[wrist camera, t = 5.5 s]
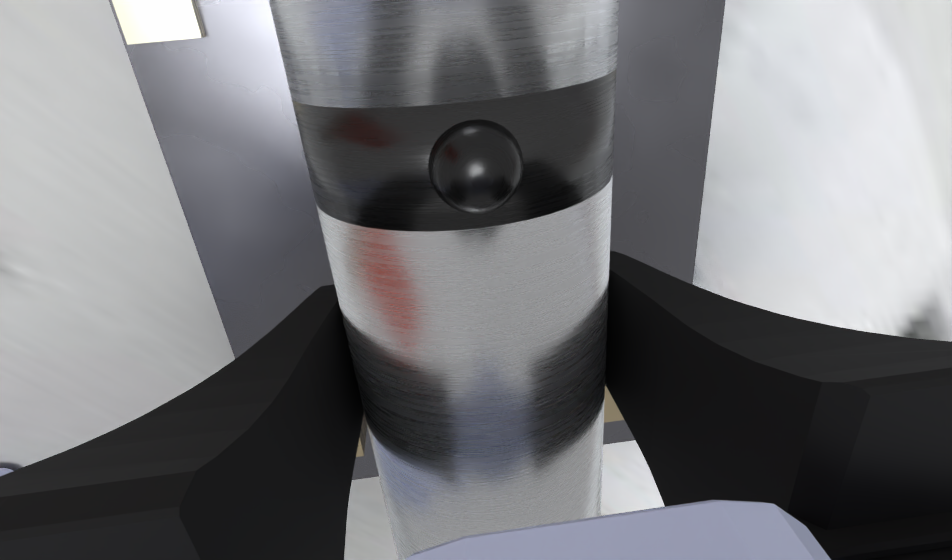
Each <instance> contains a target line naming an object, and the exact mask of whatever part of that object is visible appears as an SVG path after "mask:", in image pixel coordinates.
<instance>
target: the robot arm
mask: <svg viewBox="0 0 952 560" xmlns="http://www.w3.org/2000/svg"><path fill="white" fill-rule="evenodd" d="M605 385H606V387H607V389H608V390H609V392H610V394H611V396H612V398H613V400H614V402H615V403H616V405H617V407H618V409H619V411H620V413H621V414H622V416H623V418H624V420H625V422H626V424H627V425H628V427H629V429H630V431H631V433H632V435H633V436H634V438H635V440H636V442H637V444H638V446H639V447H640V449H641V451H642V453H643V455H644V457H645V460H646V462H647V464H648V466H649V468H650V470H651V473H652V475H653V478H654V480H655V483H656V485H657V487H658V490H659V492H660V495H661V497H662V500H663V502H664V505H665V507H660V508H653V509H646V510H639V511H633V512H626V513H619V514H612V515H605V516H598V517H592V518H585V519H578V520H571V521H564V522H557V523H551V524H544V525H537V526H530V527H523V528H516V529H510V530H503V531H496V532H489V533H482V534H475V535H469V536H464V537H461V538H458V539H455V540H452V541H449V542H446V543H443V544H440V545H437V546H434V547H431V548H428V549H425V550H422V551H419V552H416V553H413V554H412V555H411V556H409V557H408V558H406V559H405V560H952V342H948V341H937V340H925V339H914V338H906V337H899V336H891V335H884V334H877V333H870V332H863V331H857V330H852V329H846V328H840V327H835V326H830V325H825V324H820V323H816V322H811V321H806V320H802V319H797V318H793V317H789V316H785V315H781V314H777V313H773V312H770V311H767V310H763V309H760V308H757V307H753V306H750V305H746V304H743V303H740V302H737V301H734V300H731V299H728V298H725V297H723V296H720V295H717V294H715V293H712V292H710V291H707V290H704V289H702V288H699V287H697V286H694V285H692V284H690V283H687V282H685V281H683V280H680V279H678V278H676V277H673V276H671V275H669V274H667V273H664V272H662V271H660V270H658V269H656V268H654V267H651V266H649V265H647V264H645V263H643V262H640V261H638V260H636V259H634V258H631V257H629V256H627V255H624V254H622V253H619V252H615V251H610V261H609V289H608V316H607V344H606V372H605ZM363 415H364V409H363V405H362V400H361V396H360V392H359V387H358V383H357V379H356V374H355V370H354V366H353V361H352V357H351V353H350V348H349V344H348V340H347V336H346V331H345V327H344V323H343V318H342V314H341V310H340V305H339V301H338V297H337V292H336V288H335V284H334V285H325V286H321V287H319V288H318V289H317V290H315V291H314V292H313V293H312V294H311V295H310V296H309V297H307V298H306V299H305V300H304V301H303V302H302V303H301V304H300V305H299V306H298V307H297V308H295V309H294V310H293V311H292V312H291V313H290V314H289V315H288V316H287V317H286V318H284V319H283V320H282V321H281V322H280V323H279V324H278V325H277V326H276V327H274V328H273V329H272V330H271V331H270V332H269V333H267V334H266V335H265V336H264V337H262V338H261V339H260V340H259V341H257V342H256V343H255V344H254V345H253V346H251V347H250V348H249V349H248V350H246V351H245V352H244V353H243V354H241V355H240V356H239V357H238V358H236V359H235V360H234V361H232V362H231V363H229V364H228V365H227V366H225V367H224V368H222V369H221V370H219V371H218V372H216V373H215V374H213V375H212V376H210V377H209V378H207V379H206V380H204V381H203V382H201V383H200V384H198V385H196V386H195V387H193V388H192V389H190V390H188V391H186V392H185V393H183V394H181V395H179V396H177V397H176V398H174V399H172V400H170V401H168V402H167V403H165V404H163V405H161V406H159V407H158V408H156V409H154V410H152V411H151V412H149V413H147V414H145V415H143V416H141V417H139V418H137V419H135V420H133V421H131V422H129V423H127V424H125V425H123V426H121V427H119V428H117V429H115V430H113V431H110V432H108V433H106V434H104V435H101V436H99V437H97V438H95V439H93V440H90V441H88V442H86V443H84V444H81V445H79V446H77V447H74V448H72V449H69V450H67V451H65V452H62V453H60V454H57V455H54V456H52V457H49V458H47V459H44V460H41V461H39V462H36V463H34V464H31V465H28V466H26V467H23V468H21V469H18V470H15V471H13V470H11V469H7V468H0V560H344V549H345V534H346V520H347V508H348V501H349V493H350V487H351V481H352V476H353V470H354V465H355V459H356V454H357V448H358V443H359V437H360V432H361V426H362V421H363Z"/></svg>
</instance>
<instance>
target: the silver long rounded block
mask: <svg viewBox="0 0 952 560" xmlns="http://www.w3.org/2000/svg"><path fill="white" fill-rule="evenodd" d="M269 4H270V8H271V12H272V17H273V21H274V25H275V30H276V34H277V38H278V42H279V47H280V51H281V55H282V60H283V64H284V68H285V73H286V77H287V81H288V86H289V90H290V94H291V99H292V103H293V107H294V111H295V116H296V120H297V124H298V129H299V133H300V137H301V142H302V146H303V150H304V155H305V159H306V163H307V167H308V172H309V176H310V180H311V185H312V189H313V193H314V198H315V202H316V206H317V211H318V215H319V219H320V223H321V228H322V232H323V236H324V241H325V245H326V249H327V254H328V258H329V262H330V267H331V271H332V275H333V280H334V284H335V288H336V292H337V297H338V301H339V305H340V310H341V314H342V318H343V323H344V327H345V331H346V336H347V340H348V344H349V348H350V353H351V357H352V361H353V366H354V370H355V374H356V379H357V383H358V387H359V392H360V396H361V400H362V405H363V409H364V413H365V417H366V422H367V426H368V430H369V435H370V439H371V443H372V448H373V452H374V456H375V461H376V465H377V469H378V473H379V478H380V482H381V486H382V491H383V495H384V499H385V504H386V508H387V512H388V517H389V521H390V525H391V529H392V534H393V538H394V542H395V547H396V551H397V555H398V560H405V559H406V558H408V557H409V556H411V555H412V554H413V553H416V552H419V551H422V550H425V549H428V548H431V547H434V546H437V545H440V544H443V543H446V542H449V541H452V540H455V539H458V538H461V537H464V536H469V535H475V534H482V533H489V532H496V531H503V530H510V529H516V528H523V527H530V526H537V525H544V524H551V523H557V522H564V521H571V520H578V519H585V518H592V517H598V516H600V511H601V484H602V456H603V428H604V400H605V372H606V344H607V316H608V289H609V261H610V233H611V205H612V177H613V149H614V122H615V94H616V66H617V38H618V10H619V0H269Z"/></svg>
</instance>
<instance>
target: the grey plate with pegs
mask: <svg viewBox="0 0 952 560" xmlns="http://www.w3.org/2000/svg"><path fill="white" fill-rule="evenodd" d="M109 2H110V5H111V8H112V11H113V14H114V16H115V19H116V22H117V25H118V28H119V31H120V33H121V36H122V39H123V42H124V45H125V48H126V50H127V53H128V56H129V59H130V62H131V65H132V67H133V70H134V73H135V76H136V79H137V82H138V84H139V87H140V90H141V93H142V96H143V99H144V101H145V104H146V107H147V110H148V113H149V116H150V118H151V121H152V124H153V127H154V130H155V133H156V135H157V138H158V141H159V144H160V147H161V150H162V152H163V155H164V158H165V161H166V164H167V166H168V169H169V172H170V175H171V178H172V181H173V183H174V186H175V189H176V192H177V195H178V198H179V200H180V203H181V206H182V209H183V212H184V215H185V217H186V220H187V223H188V226H189V229H190V232H191V234H192V237H193V240H194V243H195V246H196V249H197V251H198V254H199V257H200V260H201V263H202V266H203V268H204V271H205V274H206V277H207V280H208V283H209V285H210V288H211V291H212V294H213V297H214V299H215V302H216V305H217V308H218V311H219V314H220V316H221V319H222V322H223V325H224V328H225V331H226V333H227V336H228V339H229V342H230V345H231V348H232V350H233V353H234V356H235V359H236V358H238V357H239V356H240V355H241V354H243V353H244V352H245V351H246V350H248V349H249V348H250V347H251V346H253V345H254V344H255V343H256V342H257V341H259V340H260V339H261V338H262V337H264V336H265V335H266V334H267V333H269V332H270V331H271V330H272V329H273V328H274V327H276V326H277V325H278V324H279V323H280V322H281V321H282V320H283V319H284V318H286V317H287V316H288V315H289V314H290V313H291V312H292V311H293V310H294V309H295V308H297V307H298V306H299V305H300V304H301V303H302V302H303V301H304V300H305V299H306V298H307V297H309V296H310V295H311V294H312V293H313V292H314V291H315V290H317V289H318V288H319V287H321V286H325V285H334V280H333V275H332V271H331V267H330V262H329V258H328V254H327V249H326V245H325V241H324V236H323V232H322V228H321V223H320V219H319V215H318V211H317V206H316V202H315V198H314V193H313V189H312V185H311V180H310V176H309V172H308V167H307V163H306V159H305V155H304V150H303V146H302V142H301V137H300V133H299V129H298V124H297V120H296V116H295V111H294V107H293V103H292V99H291V94H290V90H289V86H288V81H287V77H286V73H285V68H284V64H283V60H282V55H281V51H280V47H279V42H278V38H277V34H276V30H275V25H274V21H273V17H272V12H271V8H270V4H269V0H109ZM724 7H725V0H619V10H618V38H617V66H616V94H615V122H614V149H613V177H612V205H611V233H610V251H615V252H619V253H622V254H624V255H627V256H629V257H631V258H634V259H636V260H638V261H640V262H643V263H645V264H647V265H649V266H651V267H654V268H656V269H658V270H660V271H662V272H664V273H667V274H669V275H671V276H673V277H676V278H678V279H680V280H683V281H685V282H687V283H690V284H692V282H693V274H694V265H695V257H696V248H697V239H698V231H699V222H700V214H701V205H702V196H703V188H704V179H705V171H706V162H707V153H708V145H709V136H710V128H711V119H712V110H713V102H714V93H715V85H716V76H717V67H718V59H719V50H720V42H721V33H722V24H723V16H724ZM632 440H635V438H634V436H633V435H632V433H631V431H630V429H629V427H628V425H627V424H626V422H625V420H624V418H623V416H622V414H621V413H620V411H619V409H618V407H617V405H616V403H615V402H614V400H613V398H612V396H611V394H610V392H609V390H608V389H607V387H606V385H605V400H604V428H603V444H610V443H617V442H625V441H632ZM376 476H379V473H378V469H377V465H376V461H375V456H374V452H373V448H372V443H371V439H370V435H369V430H368V426H367V422H366V417H365V413H364V415H363V421H362V426H361V432H360V437H359V443H358V448H357V454H356V459H355V465H354V470H353V476H352V480H355V479H362V478H369V477H376Z"/></svg>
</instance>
